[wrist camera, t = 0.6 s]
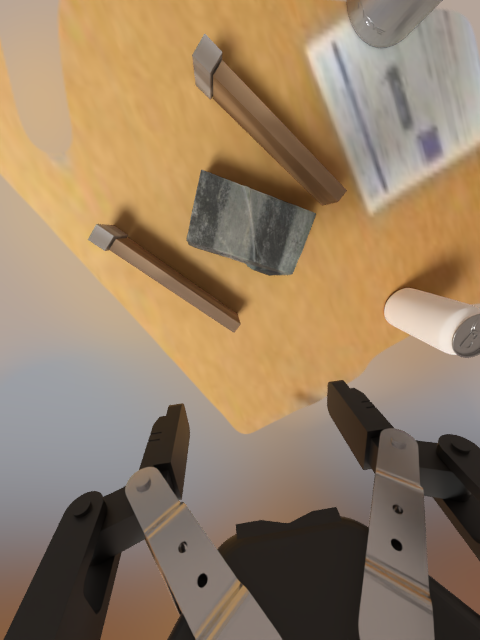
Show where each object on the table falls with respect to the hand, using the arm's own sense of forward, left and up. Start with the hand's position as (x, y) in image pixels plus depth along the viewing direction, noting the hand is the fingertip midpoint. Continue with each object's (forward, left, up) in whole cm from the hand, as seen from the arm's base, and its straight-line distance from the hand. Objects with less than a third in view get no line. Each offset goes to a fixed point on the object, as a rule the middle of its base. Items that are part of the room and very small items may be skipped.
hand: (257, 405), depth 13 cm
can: (-15, +24, -24) cm, 37 cm away
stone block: (-8, -4, -25) cm, 26 cm away
